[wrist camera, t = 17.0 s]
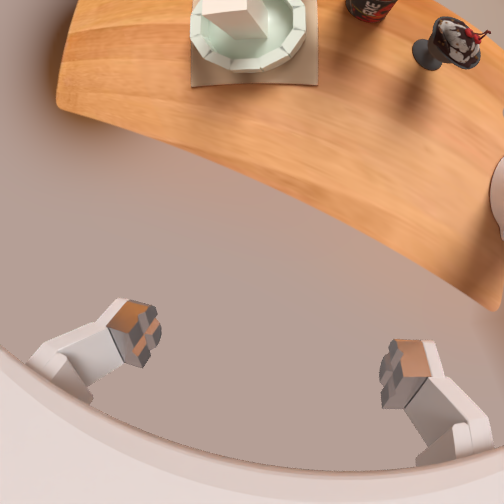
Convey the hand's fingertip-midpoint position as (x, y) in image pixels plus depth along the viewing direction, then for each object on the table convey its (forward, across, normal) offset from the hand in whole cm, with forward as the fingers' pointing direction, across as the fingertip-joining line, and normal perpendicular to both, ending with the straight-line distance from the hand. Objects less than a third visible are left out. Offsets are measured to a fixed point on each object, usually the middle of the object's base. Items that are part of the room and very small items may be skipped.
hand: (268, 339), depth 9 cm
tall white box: (+32, +8, -20) cm, 38 cm away
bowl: (+33, +8, -20) cm, 39 cm away
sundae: (+33, -17, -19) cm, 42 cm away
